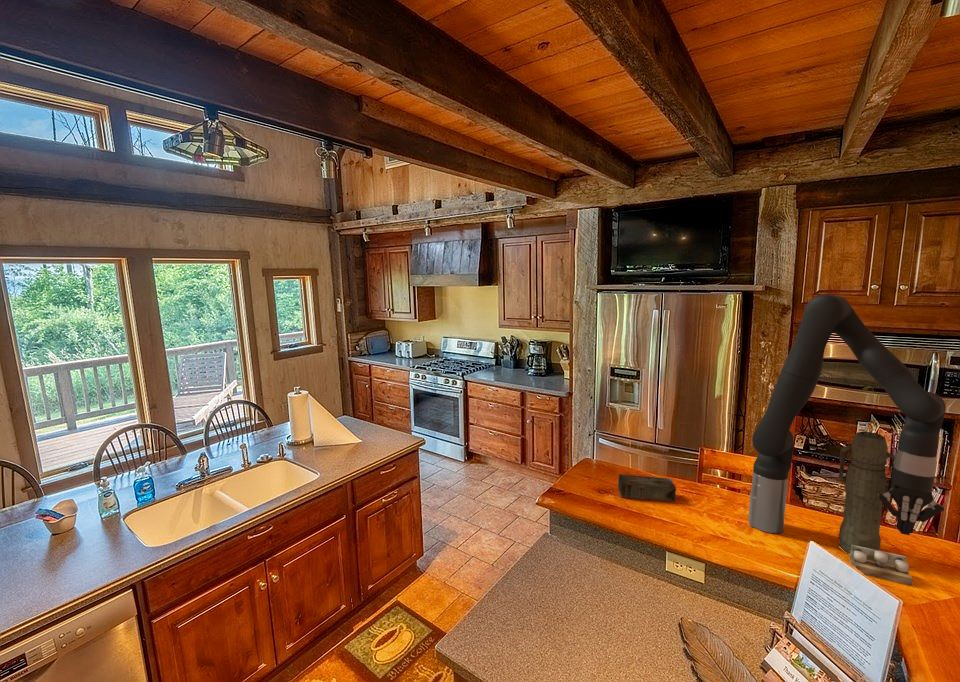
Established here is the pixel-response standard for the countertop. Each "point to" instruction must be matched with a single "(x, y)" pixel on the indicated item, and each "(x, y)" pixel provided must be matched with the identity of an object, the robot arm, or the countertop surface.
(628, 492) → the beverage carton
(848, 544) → the thermos
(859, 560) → the button left
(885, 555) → the button middle
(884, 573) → the button board
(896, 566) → the button right
